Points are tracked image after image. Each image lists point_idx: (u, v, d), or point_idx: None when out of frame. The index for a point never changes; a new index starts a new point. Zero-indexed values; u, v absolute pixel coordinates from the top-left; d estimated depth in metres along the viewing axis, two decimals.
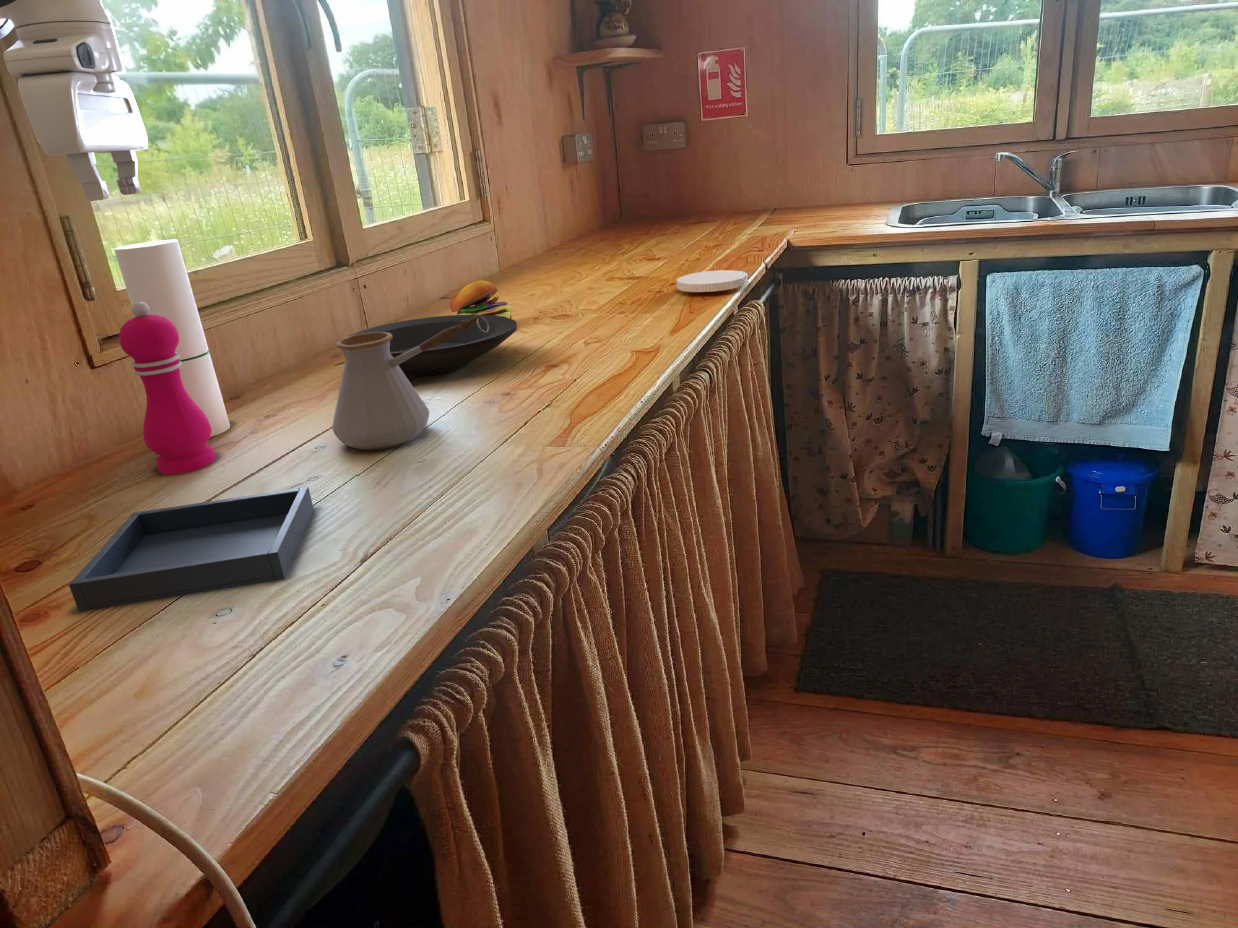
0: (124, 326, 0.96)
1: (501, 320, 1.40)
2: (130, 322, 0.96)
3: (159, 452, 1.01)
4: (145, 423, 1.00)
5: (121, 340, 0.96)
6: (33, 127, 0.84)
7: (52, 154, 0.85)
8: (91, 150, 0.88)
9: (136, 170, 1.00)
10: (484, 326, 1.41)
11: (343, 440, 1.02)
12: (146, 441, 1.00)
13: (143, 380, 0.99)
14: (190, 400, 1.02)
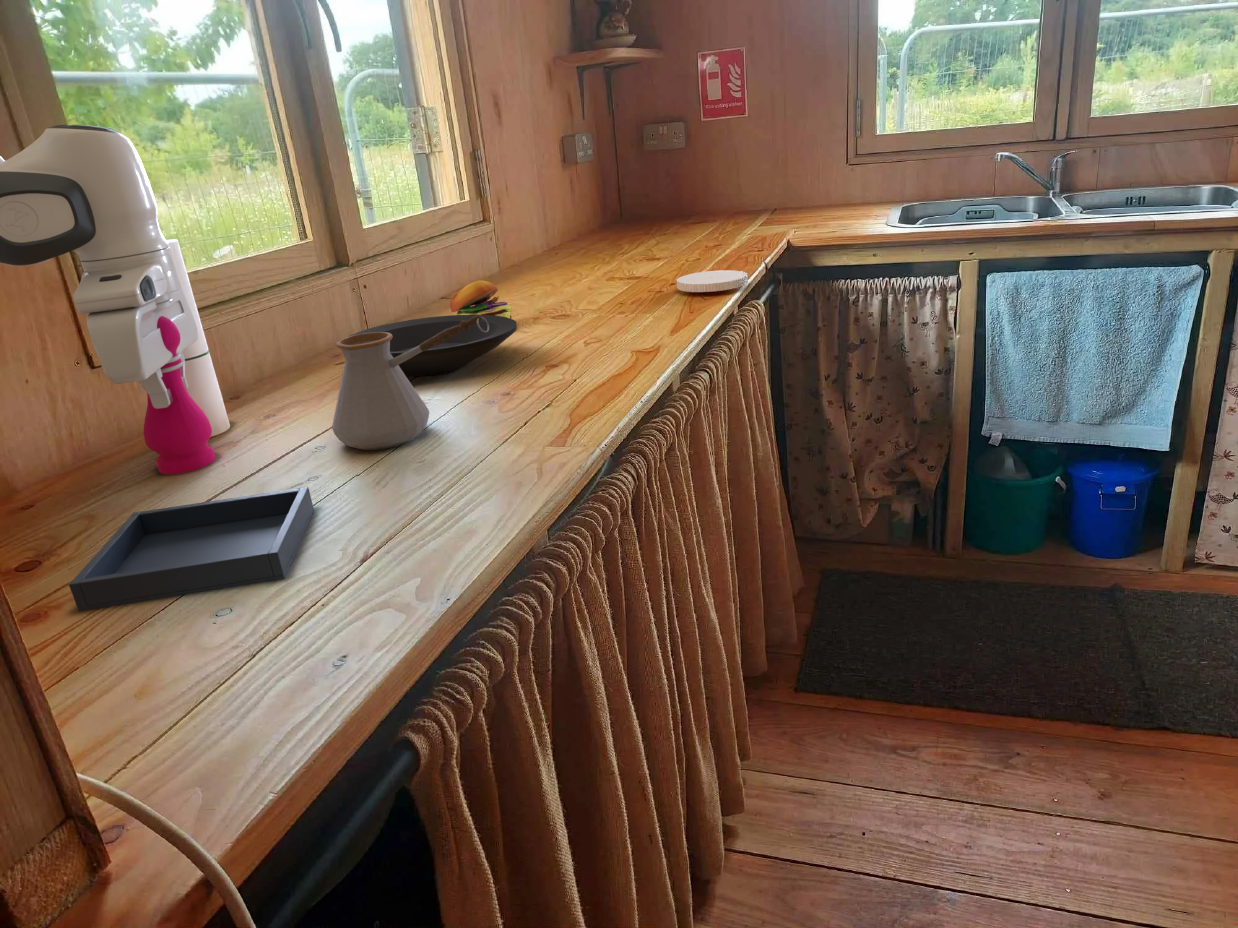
0: None
1: (501, 320, 1.40)
2: None
3: (159, 452, 1.01)
4: (146, 422, 1.00)
5: None
6: (101, 361, 0.89)
7: (118, 383, 0.91)
8: (153, 372, 0.93)
9: (184, 369, 1.04)
10: (484, 326, 1.41)
11: (343, 440, 1.02)
12: (146, 441, 1.00)
13: None
14: (191, 400, 1.02)
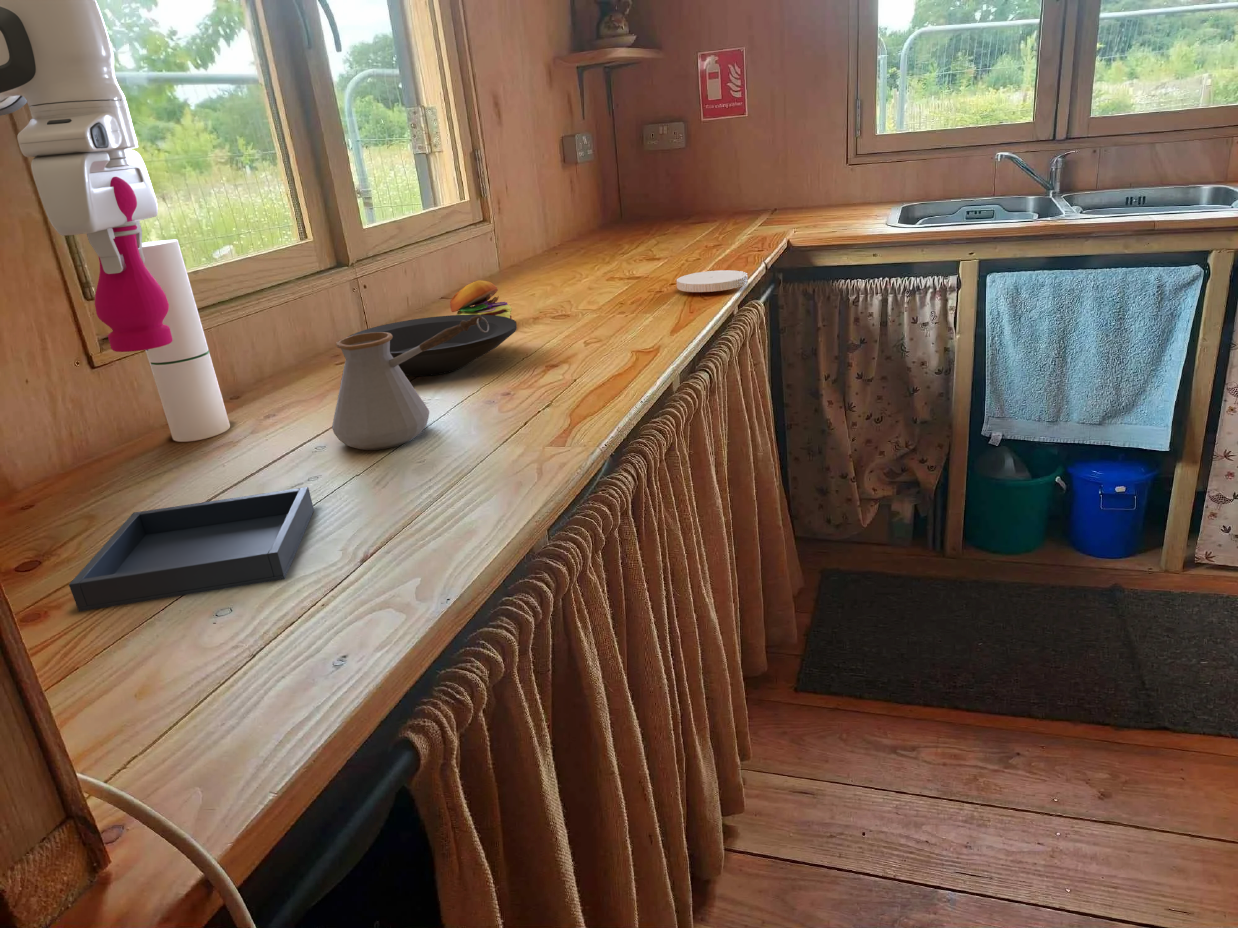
0: None
1: (501, 320, 1.40)
2: None
3: (111, 323, 0.95)
4: (97, 291, 0.94)
5: None
6: (46, 208, 0.84)
7: (64, 234, 0.85)
8: (103, 228, 0.88)
9: (140, 241, 0.98)
10: (484, 326, 1.41)
11: (343, 440, 1.02)
12: (97, 311, 0.95)
13: None
14: (146, 271, 0.96)
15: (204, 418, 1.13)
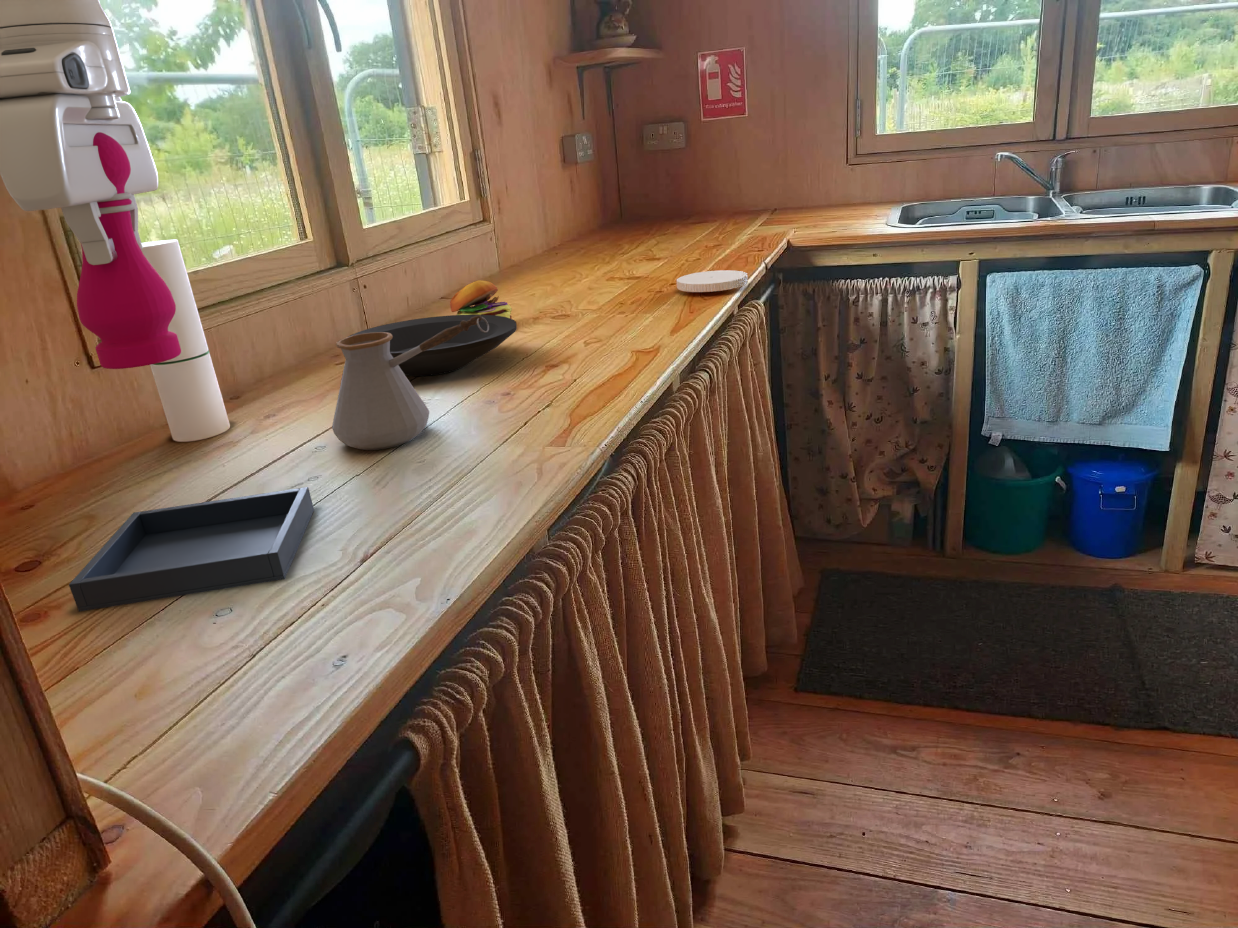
0: None
1: (501, 320, 1.40)
2: None
3: (99, 331, 0.71)
4: (80, 288, 0.70)
5: None
6: (1, 173, 0.59)
7: (29, 209, 0.61)
8: (83, 201, 0.63)
9: (136, 221, 0.74)
10: (484, 326, 1.41)
11: (343, 440, 1.02)
12: (80, 315, 0.71)
13: None
14: (145, 260, 0.72)
15: (204, 418, 1.13)
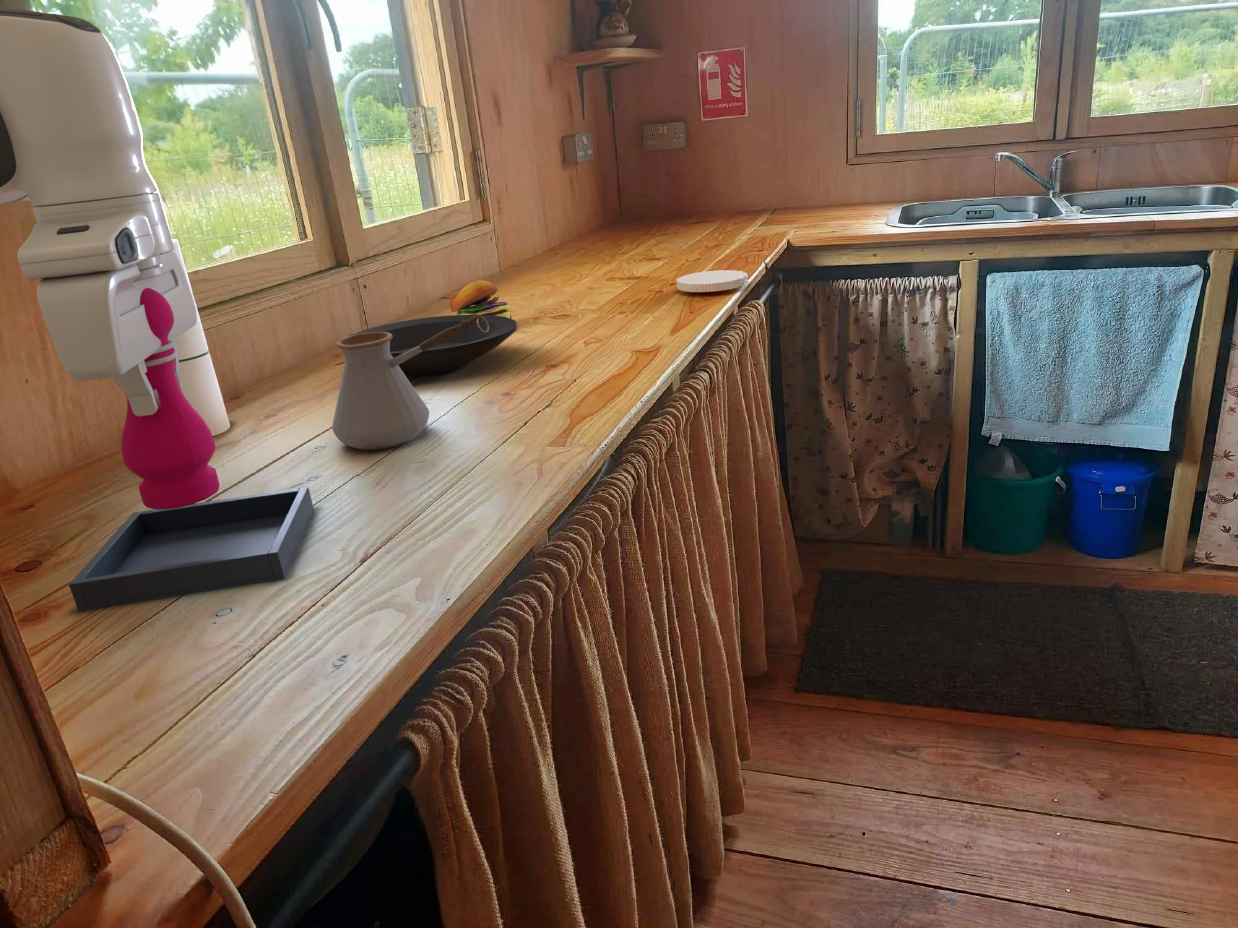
0: None
1: (501, 320, 1.40)
2: None
3: (143, 475, 0.73)
4: (125, 434, 0.73)
5: None
6: (57, 349, 0.62)
7: (82, 380, 0.64)
8: (133, 366, 0.66)
9: (177, 362, 0.77)
10: (484, 326, 1.41)
11: (343, 440, 1.02)
12: (125, 460, 0.73)
13: None
14: (187, 405, 0.74)
15: (204, 418, 1.13)
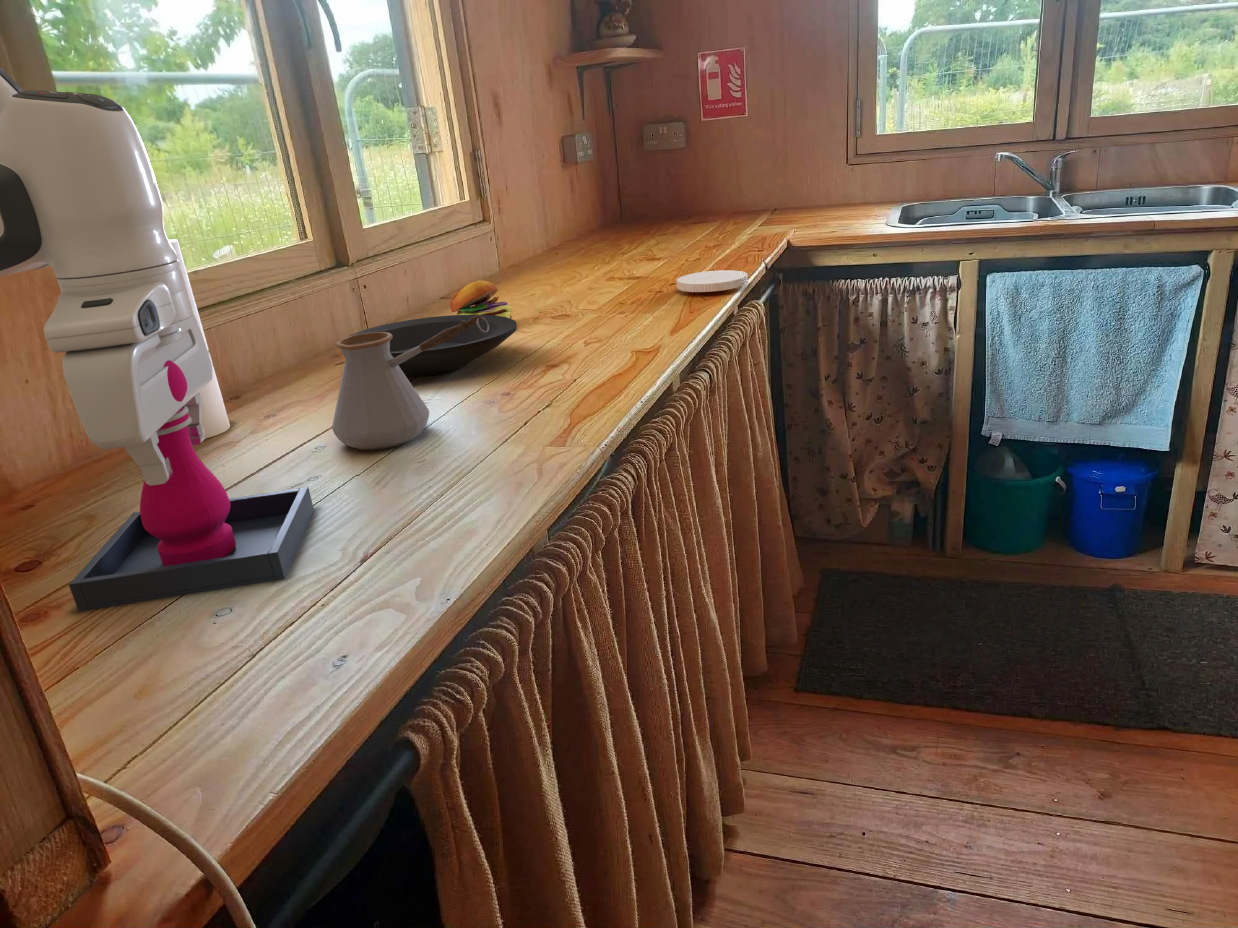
0: None
1: (501, 320, 1.40)
2: None
3: (161, 538, 0.75)
4: (143, 499, 0.75)
5: None
6: (82, 420, 0.64)
7: (106, 448, 0.66)
8: (154, 432, 0.68)
9: (200, 413, 0.80)
10: (484, 326, 1.41)
11: (343, 440, 1.02)
12: (144, 523, 0.75)
13: None
14: (202, 467, 0.76)
15: (204, 418, 1.13)
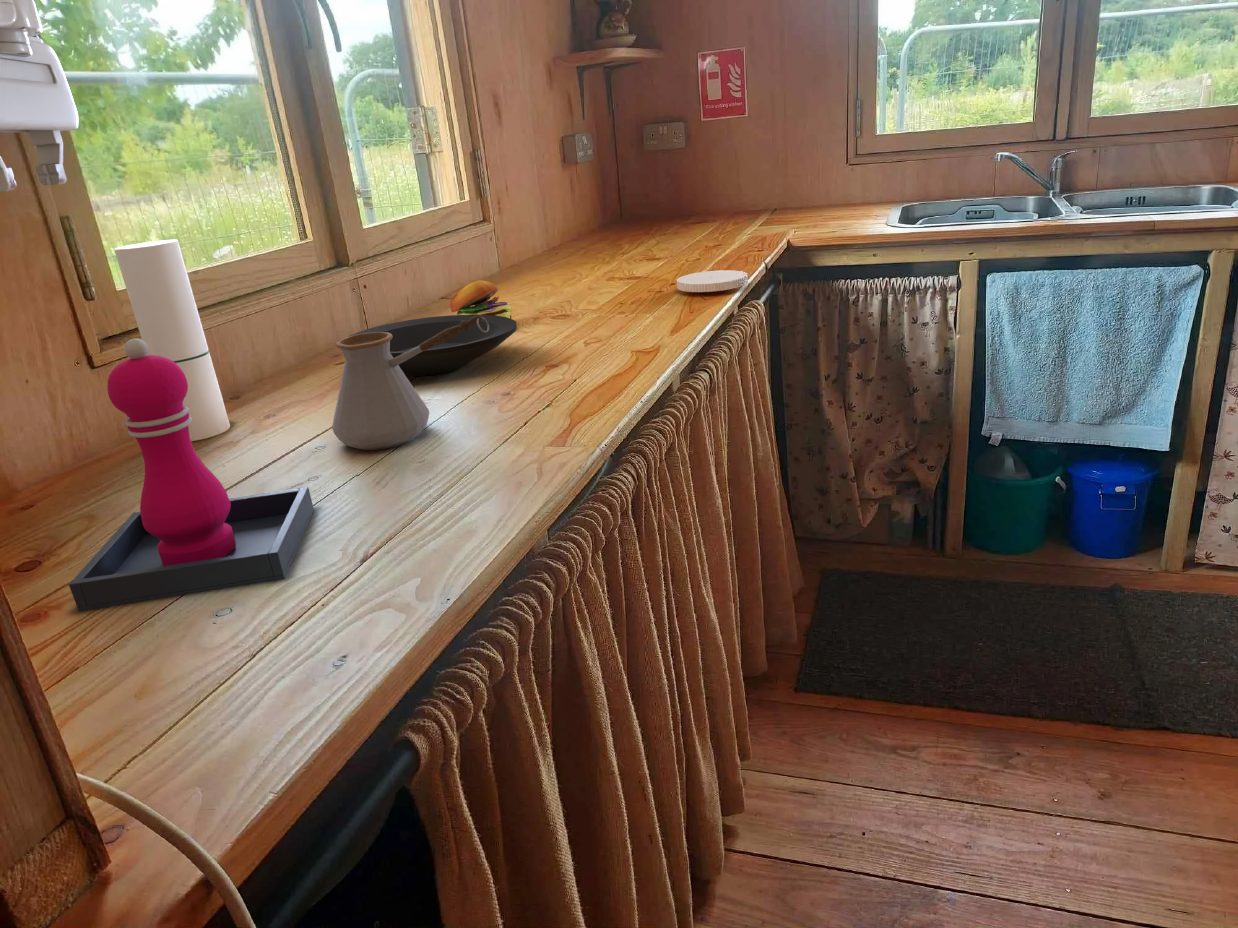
0: (114, 372, 0.71)
1: (501, 320, 1.40)
2: (123, 367, 0.71)
3: (161, 538, 0.75)
4: (143, 499, 0.75)
5: (110, 391, 0.71)
6: None
7: None
8: None
9: (61, 155, 0.81)
10: (484, 326, 1.41)
11: (343, 440, 1.02)
12: (144, 523, 0.75)
13: (140, 443, 0.73)
14: (203, 467, 0.76)
15: (204, 418, 1.13)
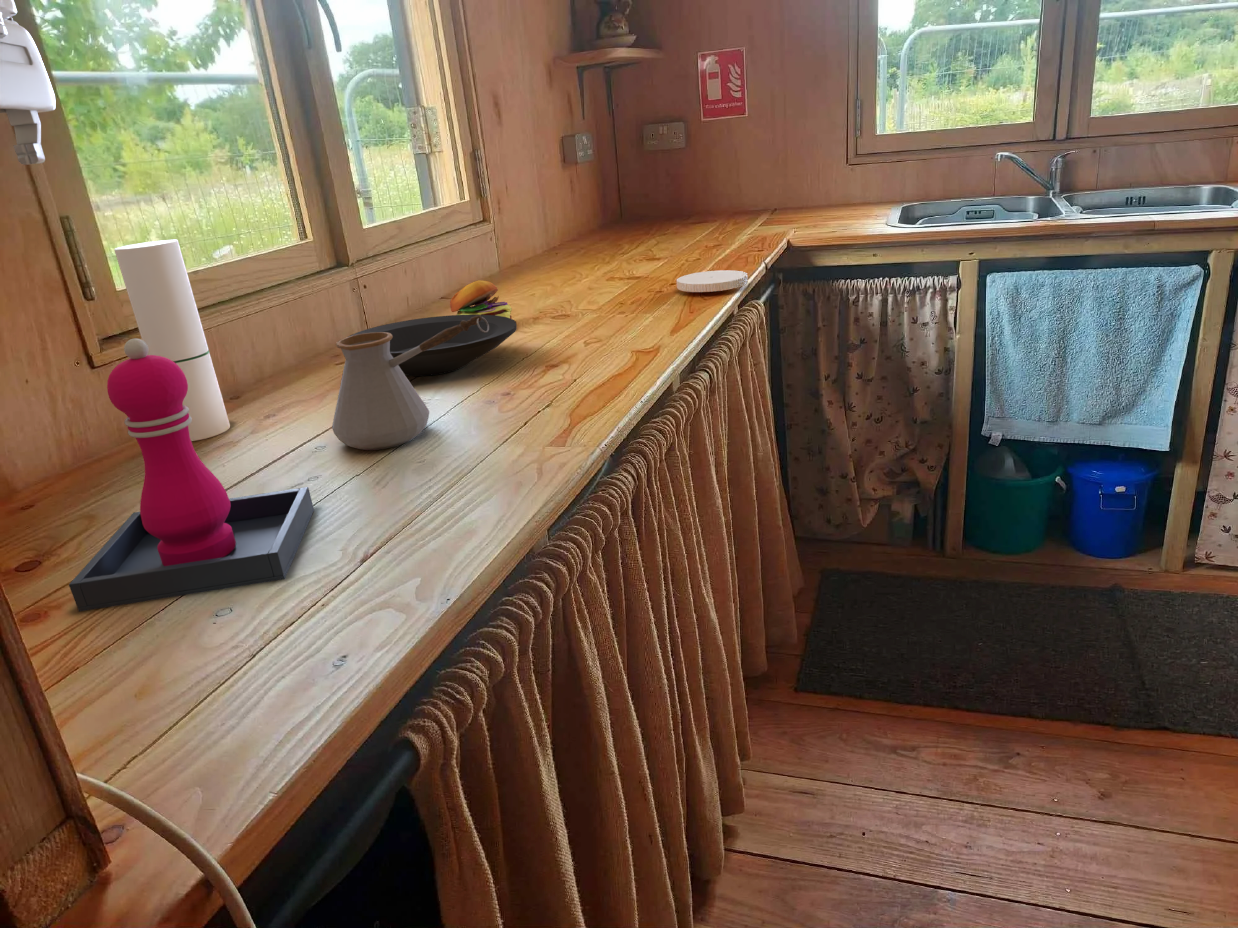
0: (114, 372, 0.71)
1: (501, 320, 1.40)
2: (123, 367, 0.71)
3: (161, 538, 0.75)
4: (143, 499, 0.75)
5: (110, 391, 0.71)
6: None
7: None
8: None
9: (39, 135, 0.83)
10: (484, 326, 1.41)
11: (343, 440, 1.02)
12: (144, 523, 0.75)
13: (140, 443, 0.73)
14: (203, 467, 0.76)
15: (204, 418, 1.13)
